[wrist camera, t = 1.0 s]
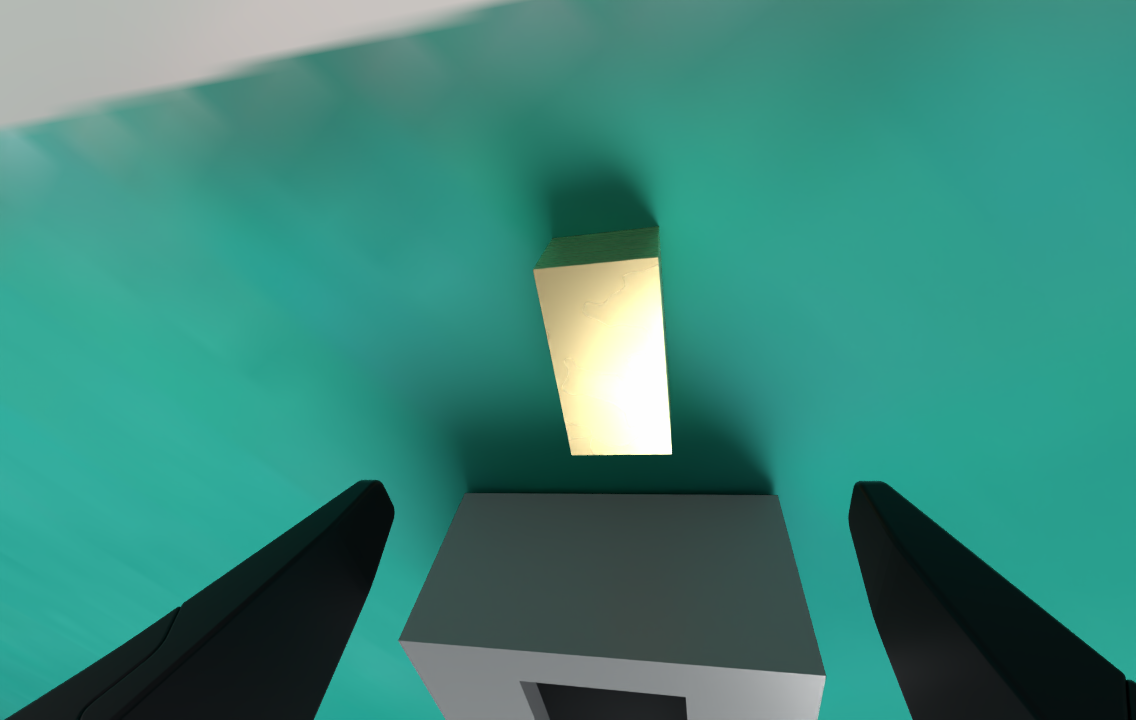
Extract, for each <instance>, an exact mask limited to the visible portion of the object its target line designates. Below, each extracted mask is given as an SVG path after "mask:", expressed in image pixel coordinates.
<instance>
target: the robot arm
mask: <svg viewBox="0 0 1136 720" xmlns="http://www.w3.org/2000/svg"><path fill="white" fill-rule="evenodd" d="M394 514H395V513H394V506H393V504H392V502H391V500H390V498H389V496H388V494H387V491H386V489H385V487H384V485H383V484H382V483H381V482H380V481H379V480H361V481H358V482H357V483H355V484H354V485H353V486H351V487H350V488H348V489H347V490H345V491H344V492H342V493H341V494H340V495H338V496H337V497H335V498H334V499H332V500H331V501H330V502H328V503H327V504H325V505H324V506H322V507H321V508H319V509H318V510H317V511H315V512H314V513H312V514H311V515H309V516H308V517H306V518H305V519H304V520H302V521H301V522H299V523H298V524H296V525H295V526H294V527H292V528H291V529H289V530H288V531H286V532H285V533H283V534H282V535H281V536H279V537H278V538H276V539H275V540H273V541H272V542H271V543H269V544H268V545H266V546H265V547H263V548H262V549H260V550H259V551H258V552H256V553H255V554H253V555H252V556H250V557H249V558H248V559H246V560H245V561H243V562H242V563H240V564H239V565H237V566H236V567H235V568H233V569H232V570H230V571H229V572H227V573H226V574H225V575H223V576H222V577H220V578H219V579H217V580H216V581H214V582H213V583H212V584H210V585H209V586H207V587H206V588H204V589H203V590H202V591H200V592H199V593H197V594H196V595H194V596H193V597H191V598H190V599H189V600H187V601H186V602H184V603H183V604H182V606H181V607H177V608H175V609H174V610H173V611H171V612H170V613H168V614H167V615H166V616H164V617H163V618H161V619H160V620H158V621H157V622H155V623H154V624H153V625H151V626H150V627H148V628H147V629H145V630H144V631H142V632H141V633H139V634H138V635H136V636H135V637H133V638H132V639H130V640H129V641H127V642H126V643H125V644H123V645H122V646H120V647H118V648H117V649H115V650H114V651H112V652H111V653H109V654H108V655H106V656H104V657H103V658H101V659H100V660H98V661H97V662H95V663H94V664H92V665H90V666H89V667H87V668H86V669H84V670H83V671H81V672H79V673H78V674H76V675H75V676H73V677H71V678H70V679H68V680H67V681H65V682H64V683H62V684H60V685H59V686H57V687H56V688H54V689H52V690H51V691H49V692H48V693H46V694H45V695H43V696H41V697H40V698H38V699H37V700H35V701H33V702H32V703H30V704H29V705H27V706H25V707H24V708H22V709H21V710H19V711H18V712H16V713H14V714H13V715H11V716H10V717H8V718H6V719H5V720H314V718H315V716H316V713H317V711H318V709H319V706H320V704H321V702H322V700H323V697H324V695H325V693H326V690H327V688H328V686H329V683H330V681H331V679H332V677H333V674H334V672H335V670H336V667H337V665H338V663H339V661H340V658H341V656H342V654H343V651H344V649H345V647H346V644H347V642H348V640H349V638H350V635H351V633H352V631H353V628H354V626H355V624H356V622H357V619H358V617H359V615H360V612H361V610H362V608H363V605H364V603H365V601H366V598H367V596H368V594H369V591H370V589H371V586H372V583H373V580H374V578H375V575H376V572H377V569H378V566H379V562H380V559H381V556H382V553H383V550H384V547H385V544H386V541H387V538H388V535H389V532H390V529H391V526H392V523H393V520H394ZM848 519H849V527H850V531H851V535H852V539H853V543H854V547H855V550H856V554H857V558H858V562H859V566H860V569H861V573H862V577H863V581H864V584H865V588H866V592H867V596H868V600H869V603H870V607H871V610H872V614H873V617H874V620H875V623H876V626H877V629H878V631H879V634H880V637H881V639H882V642H883V645H884V647H885V650H886V652H887V655H888V657H889V660H890V663H891V665H892V668H893V670H894V673H895V675H896V678H897V681H898V683H899V686H900V688H901V691H902V693H903V696H904V699H905V701H906V704H907V706H908V709H909V711H910V714H911V717H912V719H913V720H1136V683H1135V682H1134V681H1132V680H1126V677H1125V675H1124V674H1123V673H1122V672H1121V671H1120V670H1119V669H1117V668H1116V667H1115V666H1114V665H1112V664H1111V663H1110V662H1109V661H1107V660H1106V659H1105V658H1104V657H1102V656H1101V655H1100V654H1099V653H1097V652H1096V651H1095V650H1094V649H1093V648H1091V647H1090V646H1089V645H1088V644H1086V643H1085V642H1084V641H1083V640H1081V639H1080V638H1079V637H1078V636H1076V635H1075V634H1074V633H1073V632H1071V631H1070V630H1069V629H1068V628H1066V627H1065V626H1064V625H1063V624H1061V623H1060V622H1059V621H1058V620H1056V619H1055V618H1054V617H1053V616H1051V615H1050V614H1049V613H1048V612H1046V611H1045V610H1044V609H1043V608H1041V607H1040V606H1039V605H1038V604H1036V603H1035V602H1034V601H1033V600H1031V599H1030V598H1029V597H1028V596H1026V595H1025V594H1024V593H1023V592H1021V591H1020V590H1019V589H1018V588H1016V587H1015V586H1014V585H1013V584H1011V583H1010V582H1009V581H1008V580H1006V579H1005V578H1004V577H1003V576H1001V575H1000V574H999V573H998V572H996V571H995V570H994V569H993V568H992V567H990V566H989V565H988V564H987V563H985V562H984V561H983V560H982V559H980V558H979V557H978V556H977V555H975V554H974V553H973V552H972V551H970V550H969V549H968V548H967V547H965V546H964V545H963V544H962V543H960V542H959V541H958V540H957V539H955V538H954V537H953V536H952V535H950V534H949V533H948V532H947V531H945V530H944V529H943V528H942V527H940V526H939V525H938V524H937V523H935V522H934V521H933V520H932V519H930V518H929V517H928V516H927V515H925V514H924V513H923V512H922V511H920V510H919V509H918V508H917V507H915V506H914V505H913V504H912V503H910V502H909V501H908V500H907V499H905V498H904V497H903V496H902V495H900V494H899V493H898V492H897V491H895V490H894V489H893V488H892V487H891V486H889V485H888V484H886V483H884V482H882V481H859V482H856V483H855V485H854V488H853V493H852V498H851V504H850V509H849V517H848Z"/></svg>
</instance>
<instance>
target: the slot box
mask: <svg viewBox="0 0 1136 720" xmlns="http://www.w3.org/2000/svg"><path fill="white" fill-rule="evenodd" d="M398 641H399V642H400V644H401V646H402V647H403V649H404V651H405V652H406V654H407V656H408V657H409V659H410V661H411V662H412V664H413V666H414V667H415V669H416V671H417V672H418V674H419V676H420V677H421V679H422V681H423V682H424V684H425V686H426V687H427V689H428V691H429V692H430V694H431V696H432V697H433V699H434V701H435V702H436V704H437V706H438V707H439V709H440V711H441V712H442V714H443V716H444V717H445V719H446V720H817V719H818V714H819V709H820V704H821V699H822V694H823V689H824V684H825V679H826V674H825V670H824V666H823V663H822V659H821V655H820V651H819V648H818V644H817V640H816V636H815V633H814V629H813V625H812V622H811V618H810V614H809V610H808V607H807V603H806V599H805V595H804V592H803V588H802V584H801V581H800V577H799V573H798V569H797V566H796V562H795V558H794V554H793V551H792V547H791V543H790V540H789V536H788V532H787V528H786V525H785V521H784V517H783V513H782V510H781V506H780V502H779V499H778V495H670V494H523V493H465V494H464V496H463V499H462V501H461V503H460V505H459V507H458V510H457V512H456V514H455V516H454V519H453V521H452V523H451V525H450V527H449V530H448V532H447V534H446V536H445V538H444V541H443V543H442V545H441V547H440V550H439V552H438V554H437V556H436V558H435V561H434V563H433V565H432V567H431V569H430V572H429V574H428V576H427V578H426V581H425V583H424V585H423V587H422V589H421V592H420V594H419V596H418V598H417V600H416V603H415V605H414V607H413V609H412V612H411V614H410V616H409V618H408V620H407V623H406V625H405V627H404V629H403V631H402V634H401V636H400V638H399V640H398Z"/></svg>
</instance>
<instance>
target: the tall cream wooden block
mask: <svg viewBox="0 0 1136 720" xmlns="http://www.w3.org/2000/svg"><path fill="white" fill-rule="evenodd" d="M533 272H534V276H535V281H536V286H537V291H538V296H539V300H540V305H541V310H542V315H543V320H544V324H545V329H546V334H547V339H548V344H549V348H550V353H551V358H552V363H553V368H554V373H555V377H556V382H557V387H558V392H559V397H560V401H561V406H562V411H563V416H564V421H565V425H566V430H567V435H568V440H569V445H570V449H571V454H572V455H650V454H672V435H671V400H670V385H669V370H668V356H667V341H666V326H665V311H664V296H663V281H662V266H661V252H660V237H659V226H657V227H648V228H639V229H631V230H622V231H613V232H604V233H596V234H587V235H578V236H569V237H560V238H552V240H551V241H550V243H549V245H548V246H547V248H546V249H545V251H544V253H543V254H542V256H541V258H540V259H539V261H538V262H537V264H536V266H535V267H534V269H533Z"/></svg>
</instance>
